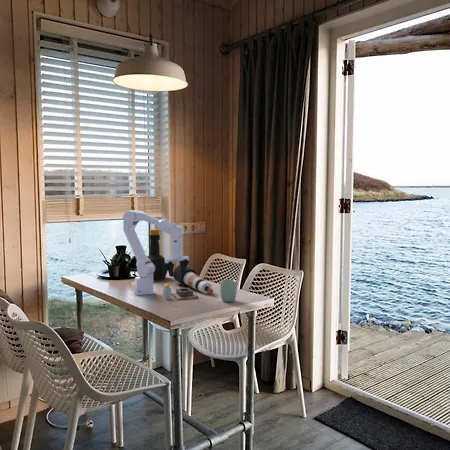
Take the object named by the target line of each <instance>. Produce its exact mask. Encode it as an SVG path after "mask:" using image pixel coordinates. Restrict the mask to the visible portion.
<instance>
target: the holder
mask: <svg viewBox="0 0 450 450" xmlns="http://www.w3.org/2000/svg"><path fill="white" fill-rule="evenodd" d="M171 297H173V298H174V299H175V300H176V301H181V300H183V301H184V300H194V299H199V296H198V295H197V294H196V293H194V290H192V289H191V287H181V288H180V287H179V288H176V289H175V292H171Z"/></svg>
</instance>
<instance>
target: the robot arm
mask: <svg viewBox="0 0 450 450" xmlns="http://www.w3.org/2000/svg"><path fill="white" fill-rule="evenodd" d="M122 220H123V224H122V225H123V227H122V229H123V232H124V235H125V237H126V239H127V241H128V243H129V245H130V248H131V250H132V253H133V255H134V257H135V259H136V263H135V264H136V265H135V266H136V268H137V274H138V276H135V277H134V293H135V294H136V295H137V296H145V295H154V294H155V295H156V292H155V291H154V281H153V272H154V271H155V265H154V264H153V263H152V262H151V261H150V259H149V258H148V257H147V256H148V255H147V254H146V253H145V250H144V247H143V245H142V244H141V241H140V239H139V236H138V234H137V231H136V230H135V229H136V227H137V225H138V224H139V223H140V221H141V222H142V221H143V222H146V223H149V224H151V225H154V226H157V229H159V231H162V232H164V233H166V234H169V235H170V236H171V257H168V258H165V265H166V267H167V269H168V272H167V273H168V276H169V277H170V278H174V277H173V272H174V270H175V264H176V263H177V262H179V265H180V267H181V274H182V275H184V274H185V270H186V267H188V265H189V263H190V261H189V260H190V256H189V255H184V254H183V253H184V247H183V245H184V244H183V243H184V240H183V236H184V233H185V228H184V227H183V225H181V224H177V223H176V222H171V221H169V219H167V218H165V219H164V218H163V219H158V218H157V217H154V216H153V215H150V214H148V213H146V212H145V211H142V210H141V211H140V210H138V209H134V210H133V209H132V210H126V211H125V212H124V214H123V215H122ZM183 255H184V256H183Z"/></svg>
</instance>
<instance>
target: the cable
mask: <svg viewBox="0 0 450 450" xmlns="http://www.w3.org/2000/svg"><path fill="white" fill-rule="evenodd" d="M172 278H173V279H174V281H176V282H177V283H179V284H181V285H182V286H184V287H185V288H192V289H193V290H196V291H198V292H201V293H202V294H204V295H206V294H212V293H214V289H213V288H212V284H211V283H210V282H208V281H206V280H205V279H203V277H201V276H199V275H198V273H197V272H196V271H195V269H194V270H193V269H192V268H191V267H189V266H187V267H186V270H185V274H184V275H182V274H181V267H180V264H179V265H177V266H176V267H174V270H173V277H172Z"/></svg>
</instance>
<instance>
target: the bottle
mask: <svg viewBox="0 0 450 450" xmlns="http://www.w3.org/2000/svg"><path fill="white" fill-rule="evenodd" d="M148 239H149V240H150V242H149V254H148V255H146V256H147V257H148V258H149V259H150V261H151V262H152V263H153V264H154V265H155V271H154V272H153V282H155V281H163V280H165V279H166V277H167V274H168V273H169V272H168V269H167V267H166V265H165V259H166V258H165V257H164V256H163V255H161V254H160V253H161V252H160V251H161V250H160V239H161V234H160V230H159V229H158V228H151V229H149V234H148Z"/></svg>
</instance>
